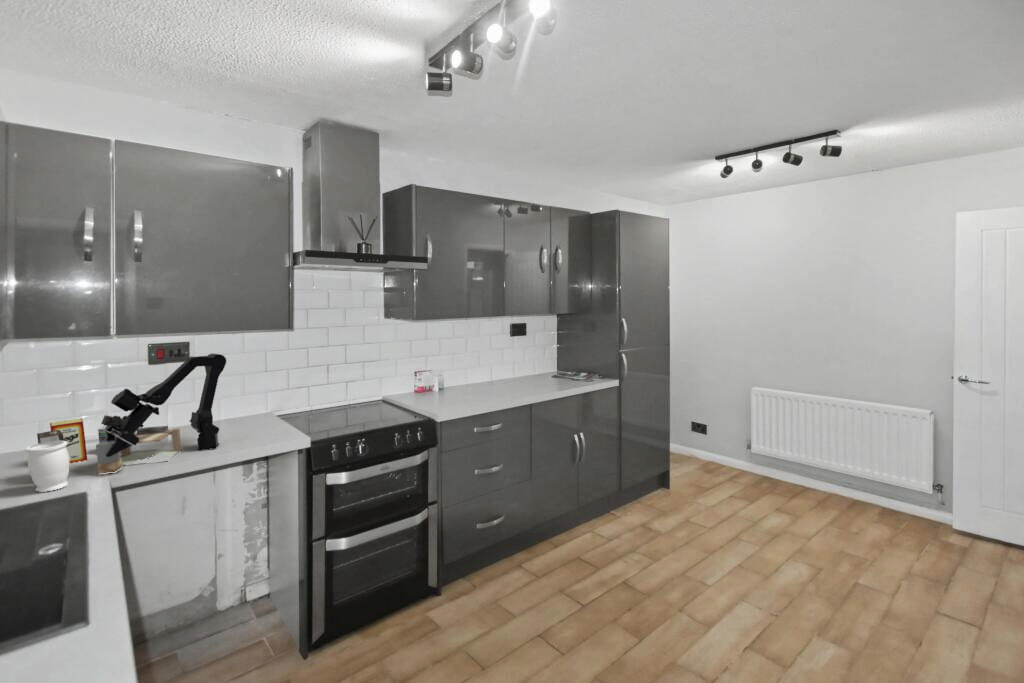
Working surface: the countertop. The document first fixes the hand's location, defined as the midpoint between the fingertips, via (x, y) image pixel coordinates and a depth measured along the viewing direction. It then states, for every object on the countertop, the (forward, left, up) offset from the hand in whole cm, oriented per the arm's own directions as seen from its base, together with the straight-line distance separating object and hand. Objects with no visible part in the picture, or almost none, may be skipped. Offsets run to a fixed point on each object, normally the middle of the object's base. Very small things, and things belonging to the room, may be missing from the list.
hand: (103, 454), depth 188 cm
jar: (+11, +11, -7) cm, 17 cm away
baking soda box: (+20, -20, -7) cm, 29 cm away
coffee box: (+16, -1, -7) cm, 17 cm away
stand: (-8, -14, -7) cm, 17 cm away
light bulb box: (+7, -28, -7) cm, 29 cm away
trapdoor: (-8, -16, +1) cm, 18 cm away
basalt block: (-1, -1, -3) cm, 3 cm away
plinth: (-1, -1, -7) cm, 7 cm away
